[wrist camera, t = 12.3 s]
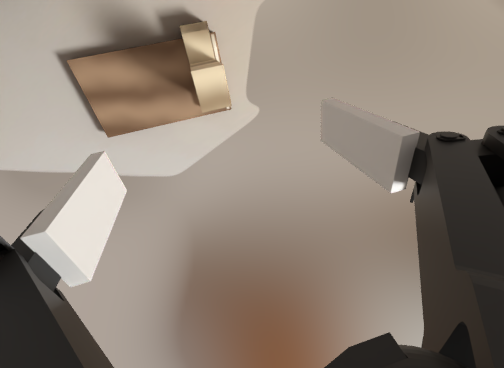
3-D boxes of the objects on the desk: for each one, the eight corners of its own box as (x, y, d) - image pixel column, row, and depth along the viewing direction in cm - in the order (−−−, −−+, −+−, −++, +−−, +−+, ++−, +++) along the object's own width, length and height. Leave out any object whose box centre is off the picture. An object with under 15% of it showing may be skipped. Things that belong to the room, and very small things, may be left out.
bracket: (179, 26, 36) (176, 21, 25) (205, 22, 36) (213, 14, 26) (201, 105, 43) (206, 127, 32) (222, 100, 43) (234, 120, 32)
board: (72, 59, 35) (66, 60, 34) (213, 32, 38) (215, 32, 36) (111, 133, 42) (107, 137, 40) (229, 106, 44) (231, 109, 43)
